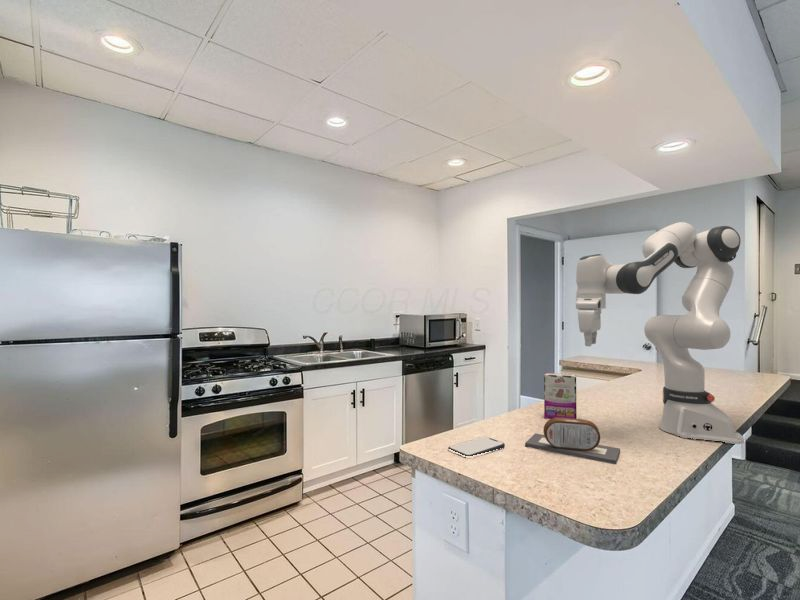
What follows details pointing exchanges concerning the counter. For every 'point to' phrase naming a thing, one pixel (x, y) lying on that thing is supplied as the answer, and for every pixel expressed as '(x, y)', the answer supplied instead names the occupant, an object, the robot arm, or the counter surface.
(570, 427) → the tin
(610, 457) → the dark gray picture frame
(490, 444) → the phone case
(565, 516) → the counter surface
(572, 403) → the candy bar box
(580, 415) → the counter surface
